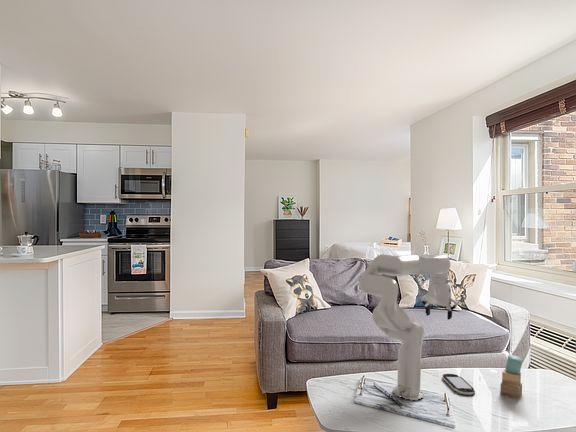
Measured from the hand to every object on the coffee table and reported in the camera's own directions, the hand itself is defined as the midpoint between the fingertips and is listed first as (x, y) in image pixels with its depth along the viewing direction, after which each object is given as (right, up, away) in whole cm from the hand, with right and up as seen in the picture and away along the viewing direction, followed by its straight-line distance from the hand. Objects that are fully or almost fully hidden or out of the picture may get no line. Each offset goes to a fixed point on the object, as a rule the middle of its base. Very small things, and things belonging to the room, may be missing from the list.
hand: (438, 317), depth 177 cm
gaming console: (+7, -31, -4) cm, 32 cm away
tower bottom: (+27, -31, -12) cm, 43 cm away
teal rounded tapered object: (+28, -21, -11) cm, 37 cm away
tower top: (+27, -26, -12) cm, 40 cm away
